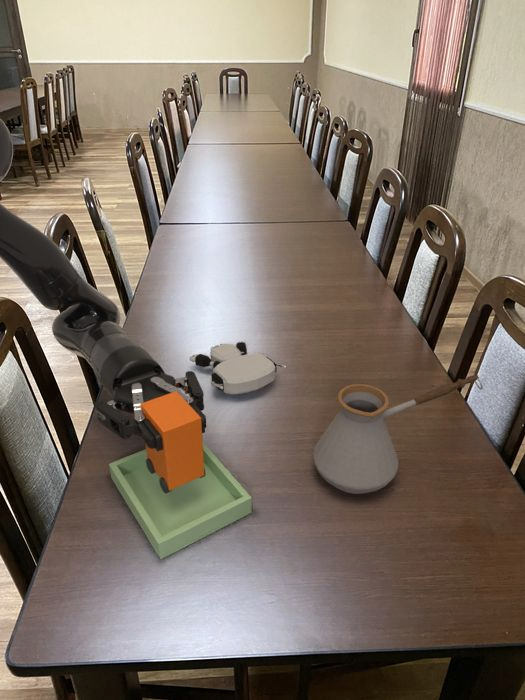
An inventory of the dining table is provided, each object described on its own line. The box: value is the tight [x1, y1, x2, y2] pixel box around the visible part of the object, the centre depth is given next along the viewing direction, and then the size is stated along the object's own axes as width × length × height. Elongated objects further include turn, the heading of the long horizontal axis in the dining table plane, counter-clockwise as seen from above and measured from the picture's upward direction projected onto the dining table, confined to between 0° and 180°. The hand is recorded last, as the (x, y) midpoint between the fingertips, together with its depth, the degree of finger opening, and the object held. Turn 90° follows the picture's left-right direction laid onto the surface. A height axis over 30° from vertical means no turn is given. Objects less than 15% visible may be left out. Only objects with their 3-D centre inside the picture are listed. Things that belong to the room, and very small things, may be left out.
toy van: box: [140, 391, 206, 494], centre depth 66 cm, size 7×5×10 cm
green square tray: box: [108, 442, 253, 560], centre depth 70 cm, size 16×13×3 cm
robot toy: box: [188, 341, 287, 395], centre depth 93 cm, size 12×4×15 cm
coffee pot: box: [312, 374, 484, 495], centre depth 71 cm, size 21×12×15 cm, turn 98°
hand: (181, 435), depth 62 cm, fingers closed on toy van, 4 cm apart
